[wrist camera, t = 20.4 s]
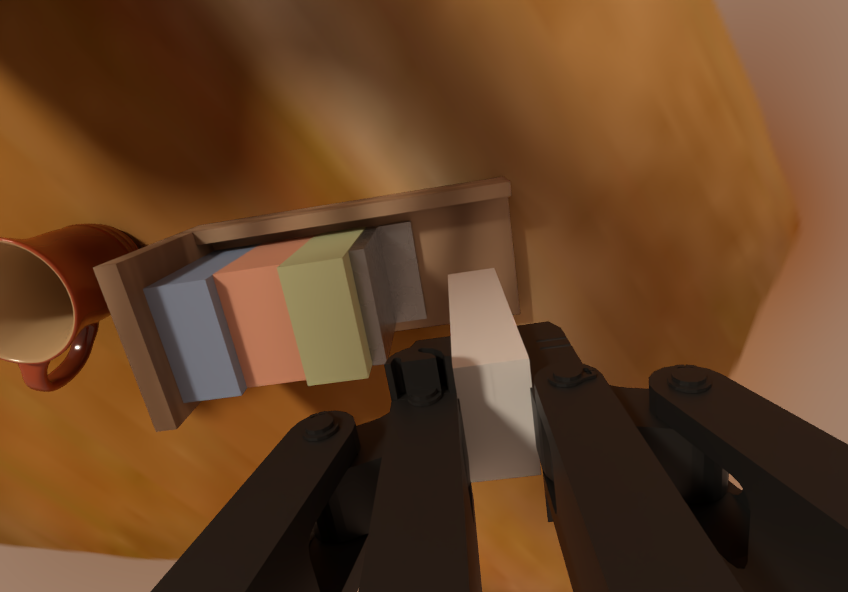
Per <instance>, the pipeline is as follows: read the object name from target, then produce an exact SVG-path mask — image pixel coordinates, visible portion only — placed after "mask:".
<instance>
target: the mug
mask: <svg viewBox="0 0 848 592" xmlns="http://www.w3.org/2000/svg"><path fill="white" fill-rule="evenodd" d="M138 249H139V248H138V246H137V245H136V244H135V243H134V241H133V240H132V239H131V238H130V237H128V236H127V235H126V234H124V233H123V232H121V231H120V230H118V229H116V228H113V227H111V226H107V225H102V224H76V225H70V226H67V227H64V228H62V229H58V230H54V231H51V232H47V233H44V234H41V235H38V236H35V237H32V238H28V239H13V238H3V237H0V359H2V360H5V361H9V362H13V363H18V366H19V368H20V370H21V373H22V377H23V380H24V382H25V384H26V385H27V386H28V387H29V388H31V389H33V390H37V391H43V392H50V391H55V390H57V389H59V388H61V387H63V386H64V385H66V384H67V383H68V382H70V381H71V380H72V379H73V378H74V377H75V376H76V375H77V374H78V373H79V372H80V370H81V369H82V368H83V366H84V365H85V363H86V361H87V360H88V358H89V355H90V353H91V350H92V347H93V343H94V340H95V337H96V335H97V332H98V327H99V321H100V320H102V319H104V318H106V317H108V316H110V315H111V314H110V311H109V309H108V306H107V303H106V301H105V298H104V296H103V293H102V290H101V288H100V285H99V283H98V280H97V278H96V275H95V272H94V270H93V267H95V266H98V265H100V264H103V263H105V262H108V261H111V260H113V259H116V258H118V257H121V256H123V255H126V254H128V253H131V252H133V251H136V250H138ZM71 344H72V345H71ZM70 345H71V348H70V351H69V353H68V355H67V356H66V358H65V359H64V361H63V362H62V363H61V364H60V365H59V366H58V367H57V368H56V369H55V370H53V371H52V372H51V373H50V374H48V375H47V368H48V365H49V363H50V360H52V359H54V358H56V357H58V356H59V355H61V354H62V353H63V352H64V351H66V350H67V349H68V348H69V346H70Z"/></svg>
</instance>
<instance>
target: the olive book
mask: <svg viewBox="0 0 848 592" xmlns="http://www.w3.org/2000/svg"><path fill="white" fill-rule="evenodd" d="M365 229H366V226H364V227H358V228H351V229H345V230H339V231H332V232H326V233H319V234H316V235H315V236H314V237H312V238H311V239H310V240H309V241H308V242H307V243H305V244H304V245H303V246H302V247H301V248H299V249H298V250H297V251H296V252H295V253H293V254H292V255H291V256H290V257H289V258H288V259H286V260H285V261H284V262H283V263H282V264H280V265H279V266H278V267H277V271H278V275H279V278H280V282H281V286H282V290H283V294H284V297H285V301H286V305H287V309H288V312H289V316H290V320H291V324H292V328H293V331H294V335H295V339H296V343H297V346H298V350H299V354H300V358H301V362H302V365H303V369H304V373H305V377H306V380H307V384H308V386H312V385H319V384H327V383H335V382H343V381H350V380H358V379H366V378H369V375H370V371H371V368H372V360H371V355H370V351H369V346H368V341H367V337H366V332H365V327H364V323H363V318H362V313H361V309H360V304H359V299H358V295H357V290H356V285H355V281H354V276H353V271H352V267H351V262H350V257H349V253H348V251H349V250H350V248H351V247H352V246H353V244H354V243H355V242H356V240H357V239H358V238H359V236H360V235H361V234H362V232H363V231H364V230H365Z"/></svg>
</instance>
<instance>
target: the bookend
mask: <svg viewBox="0 0 848 592" xmlns="http://www.w3.org/2000/svg"><path fill="white" fill-rule="evenodd" d="M348 253H349V257H350V262H351V267H352V271H353V276H354V281H355V285H356V290H357V295H358V299H359V304H360V309H361V313H362V318H363V323H364V327H365V332H366V337H367V341H368V346H369V351H370V355H371V360H372V365H381V364H385V362H386V361H387V359H388V358H389V354H390V349H391V345H392V341H393V336H394V332H395V327H396V323H399V322H406V321H413V320H420V319H427V313H426V307H425V301H424V296H423V290H422V284H421V278H420V272H419V266H418V260H417V255H416V249H415V243H414V237H413V231H412V225H411V220H410V221H403V222H397V223H390V224H384V225H378V226H371V227H366V229H365V230H364V231H363V232H362V234H361V235H360V236H359V238H358V239H357V240H356V242H355V243H354V244H353V246H352V247H351V248H350V250H349V251H348Z"/></svg>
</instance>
